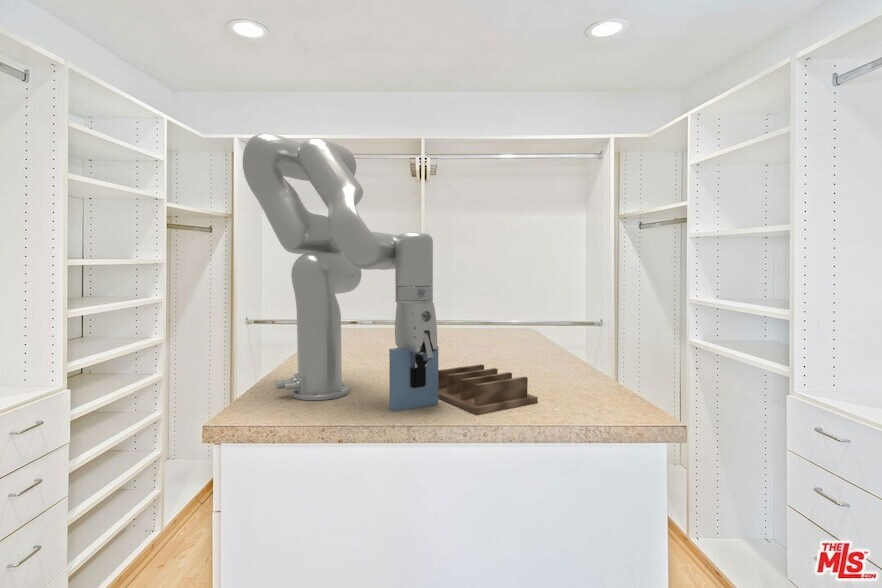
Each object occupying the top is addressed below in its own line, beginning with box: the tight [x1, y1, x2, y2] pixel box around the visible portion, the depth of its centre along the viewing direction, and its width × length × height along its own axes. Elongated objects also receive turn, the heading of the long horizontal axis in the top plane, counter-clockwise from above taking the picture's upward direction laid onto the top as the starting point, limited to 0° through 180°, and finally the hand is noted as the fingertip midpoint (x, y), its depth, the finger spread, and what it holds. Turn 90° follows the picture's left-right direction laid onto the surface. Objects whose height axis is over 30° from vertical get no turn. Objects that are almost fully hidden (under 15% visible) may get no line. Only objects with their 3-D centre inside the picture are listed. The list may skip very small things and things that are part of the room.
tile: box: [388, 345, 439, 412], centre depth 100 cm, size 10×2×12 cm, turn 122°
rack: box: [438, 363, 539, 416], centre depth 106 cm, size 16×19×5 cm
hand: (414, 384), depth 100 cm, fingers closed on tile, 2 cm apart
